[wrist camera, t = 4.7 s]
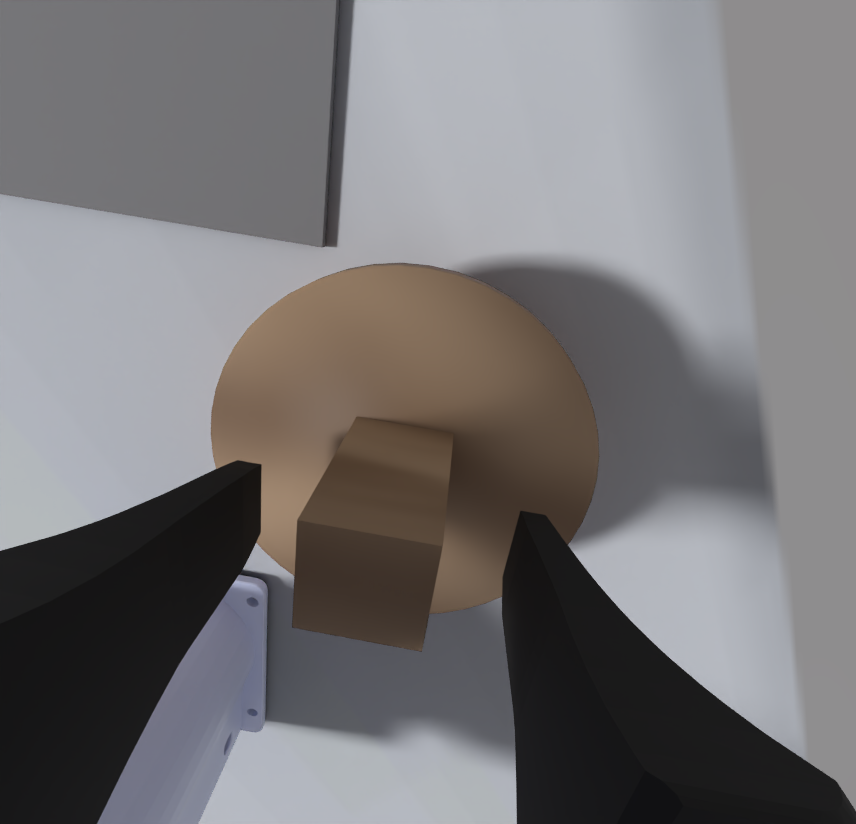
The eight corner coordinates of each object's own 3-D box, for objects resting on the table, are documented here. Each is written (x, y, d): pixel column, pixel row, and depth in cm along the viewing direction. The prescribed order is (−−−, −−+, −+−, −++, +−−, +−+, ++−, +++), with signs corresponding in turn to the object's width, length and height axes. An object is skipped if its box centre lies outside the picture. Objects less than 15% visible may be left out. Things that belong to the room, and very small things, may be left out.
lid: (540, 621, 16) (570, 808, 11) (228, 563, 16) (118, 721, 11) (645, 301, 12) (771, 369, 7) (220, 230, 12) (37, 245, 7)
